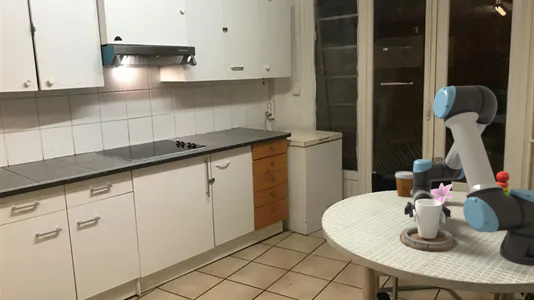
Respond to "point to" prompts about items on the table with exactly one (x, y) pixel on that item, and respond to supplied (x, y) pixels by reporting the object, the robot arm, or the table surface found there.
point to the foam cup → (428, 217)
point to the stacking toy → (503, 181)
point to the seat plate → (428, 240)
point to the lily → (442, 193)
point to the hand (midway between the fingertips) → (429, 219)
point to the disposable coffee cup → (404, 183)
